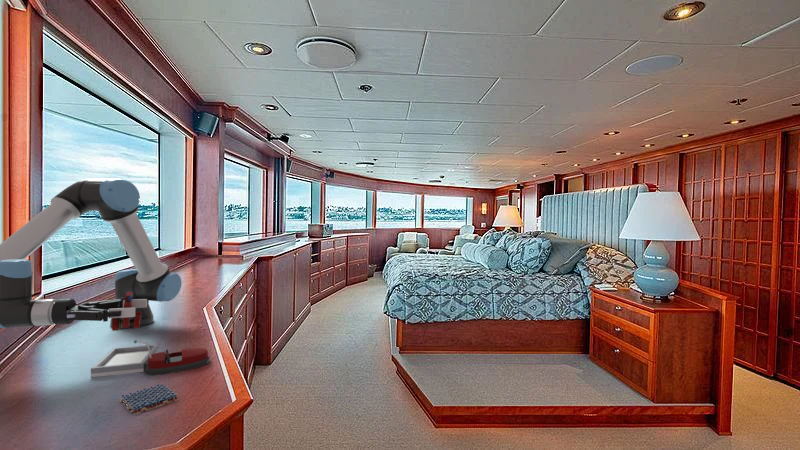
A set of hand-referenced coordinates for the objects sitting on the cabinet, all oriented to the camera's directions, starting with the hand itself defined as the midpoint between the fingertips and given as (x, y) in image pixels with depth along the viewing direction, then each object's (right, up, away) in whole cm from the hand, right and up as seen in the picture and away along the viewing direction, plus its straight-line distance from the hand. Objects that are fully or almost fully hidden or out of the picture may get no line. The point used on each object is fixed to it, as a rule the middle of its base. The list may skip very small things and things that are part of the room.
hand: (141, 307), depth 124 cm
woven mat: (+18, -19, -25) cm, 36 cm away
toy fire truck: (-4, -6, -1) cm, 7 cm away
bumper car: (+12, -18, -3) cm, 22 cm away
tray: (-4, -17, -1) cm, 18 cm away
